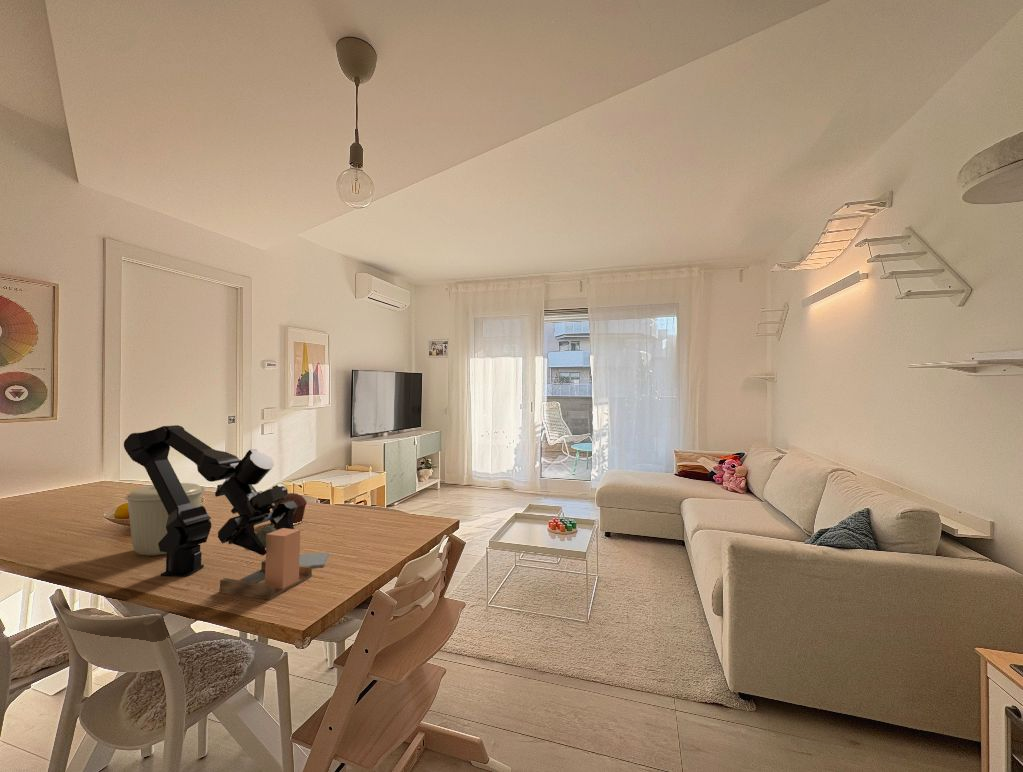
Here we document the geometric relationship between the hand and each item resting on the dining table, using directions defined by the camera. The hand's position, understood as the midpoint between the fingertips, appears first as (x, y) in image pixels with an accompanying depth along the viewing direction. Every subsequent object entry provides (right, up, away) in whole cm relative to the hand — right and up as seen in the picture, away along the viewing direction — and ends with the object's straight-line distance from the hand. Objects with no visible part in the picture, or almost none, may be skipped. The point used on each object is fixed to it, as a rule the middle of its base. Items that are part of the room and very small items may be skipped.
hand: (280, 547), depth 102 cm
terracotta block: (+1, -8, 0) cm, 8 cm away
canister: (-45, -9, +22) cm, 51 cm away
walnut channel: (-3, -9, +1) cm, 10 cm away
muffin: (-24, -10, +50) cm, 56 cm away
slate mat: (0, -9, +15) cm, 17 cm away
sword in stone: (-19, -10, +28) cm, 35 cm away
